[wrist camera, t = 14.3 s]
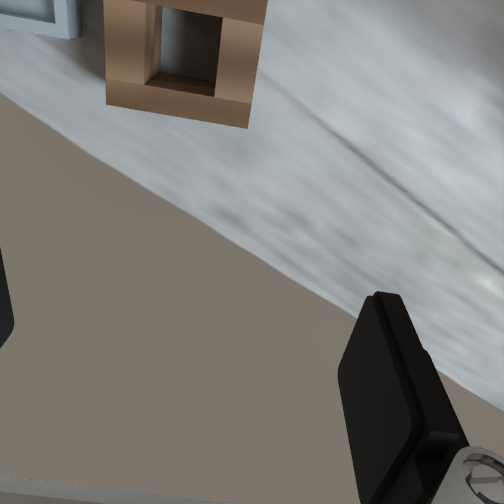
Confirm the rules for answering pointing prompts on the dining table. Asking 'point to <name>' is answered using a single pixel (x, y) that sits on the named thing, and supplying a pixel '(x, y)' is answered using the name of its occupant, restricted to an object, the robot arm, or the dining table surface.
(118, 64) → the block
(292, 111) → the dining table surface
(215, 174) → the dining table surface
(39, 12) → the tray
